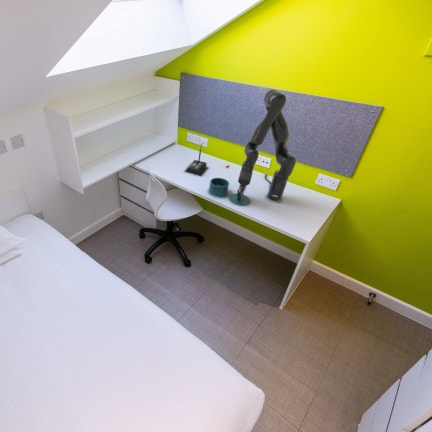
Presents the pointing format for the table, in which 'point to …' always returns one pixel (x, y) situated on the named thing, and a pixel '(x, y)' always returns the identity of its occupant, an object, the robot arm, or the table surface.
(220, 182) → the tin
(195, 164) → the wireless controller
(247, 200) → the lid
